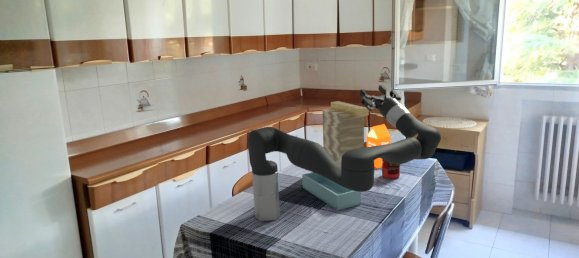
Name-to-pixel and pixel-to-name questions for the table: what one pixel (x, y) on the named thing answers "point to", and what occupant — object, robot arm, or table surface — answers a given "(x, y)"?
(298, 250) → the table surface
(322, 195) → the open teal box
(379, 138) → the orange juice
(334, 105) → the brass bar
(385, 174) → the canned food
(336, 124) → the birch stand
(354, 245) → the table surface
